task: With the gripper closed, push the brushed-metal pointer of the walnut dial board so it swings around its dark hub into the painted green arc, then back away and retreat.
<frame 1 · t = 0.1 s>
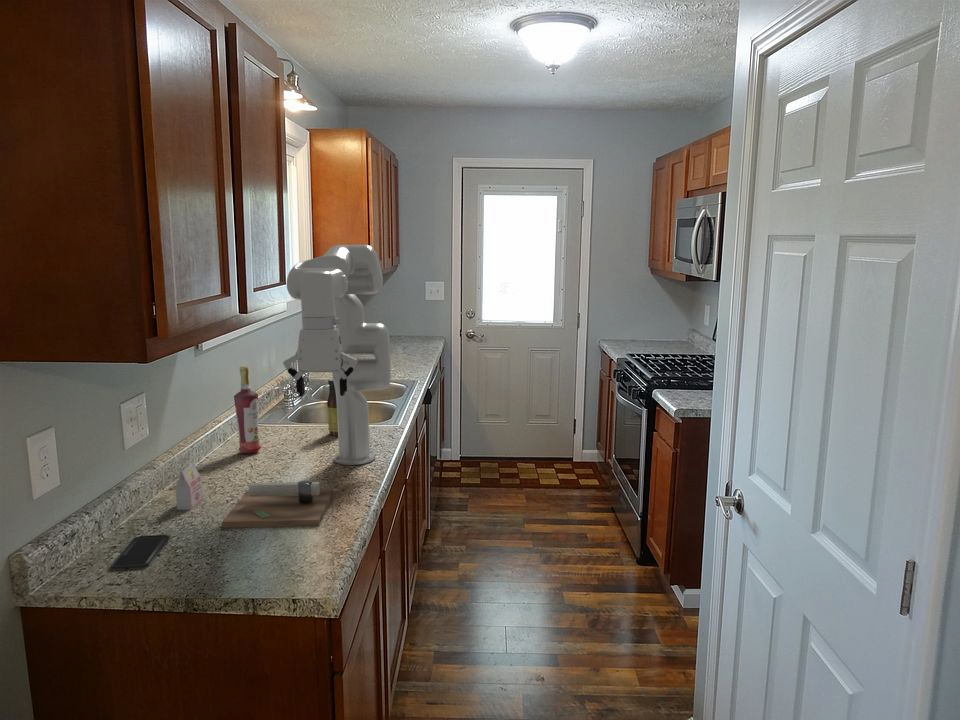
hand: (322, 394, 162), 31 cm above the counter, fingers open, 9 cm apart
pink white carton: (190, 505, 177), on the counter
phone: (141, 555, 150), on the counter
liquor: (250, 452, 220), on the counter
dial pointer: (284, 492, 174), point 4 cm above the counter, hinge at 0.0°
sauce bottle: (337, 434, 239), on the counter
dial board: (281, 509, 173), on the counter
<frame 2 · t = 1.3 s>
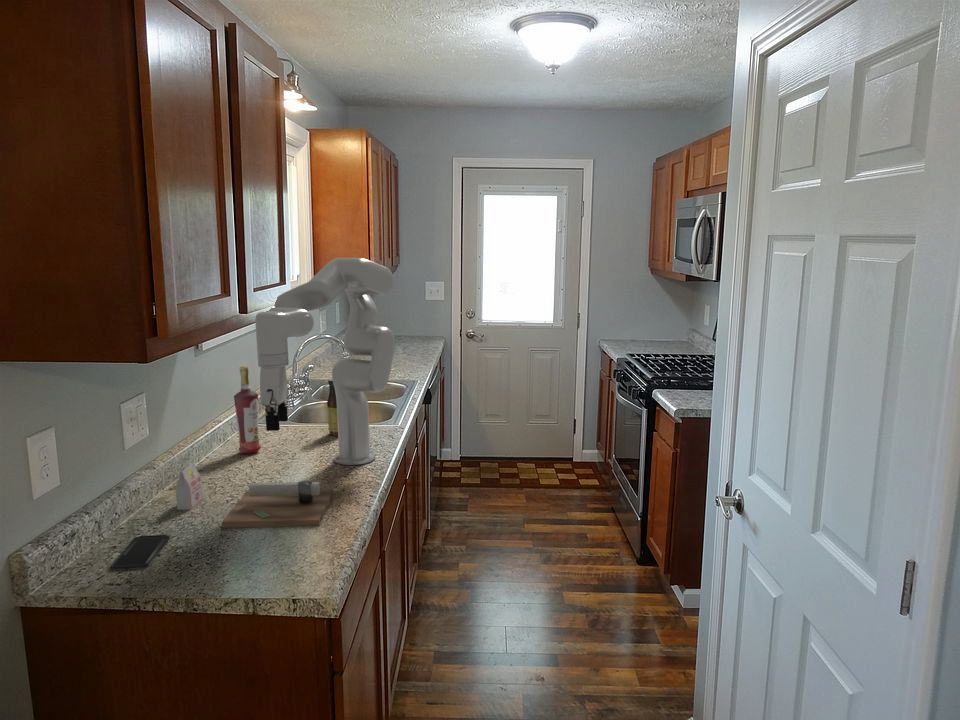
hand: (277, 425, 177), 20 cm above the counter, fingers open, 8 cm apart
nothing on the counter moved.
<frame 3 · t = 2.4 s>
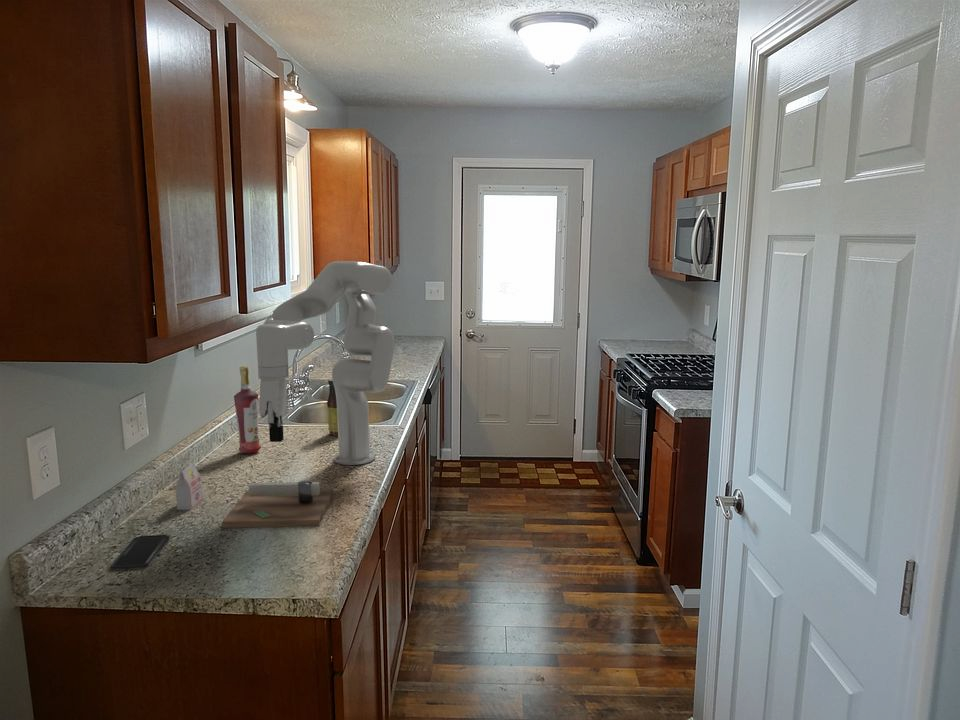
hand: (276, 440, 178), 16 cm above the counter, fingers closed
nothing on the counter moved.
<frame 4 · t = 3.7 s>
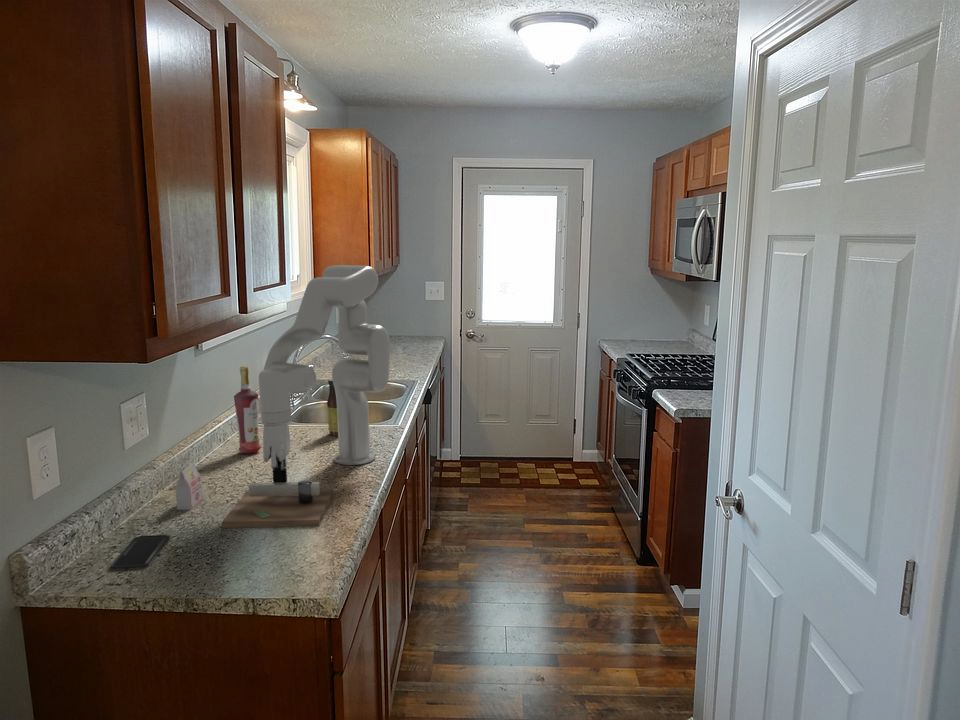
hand: (280, 483, 180), 4 cm above the counter, fingers closed
nothing on the counter moved.
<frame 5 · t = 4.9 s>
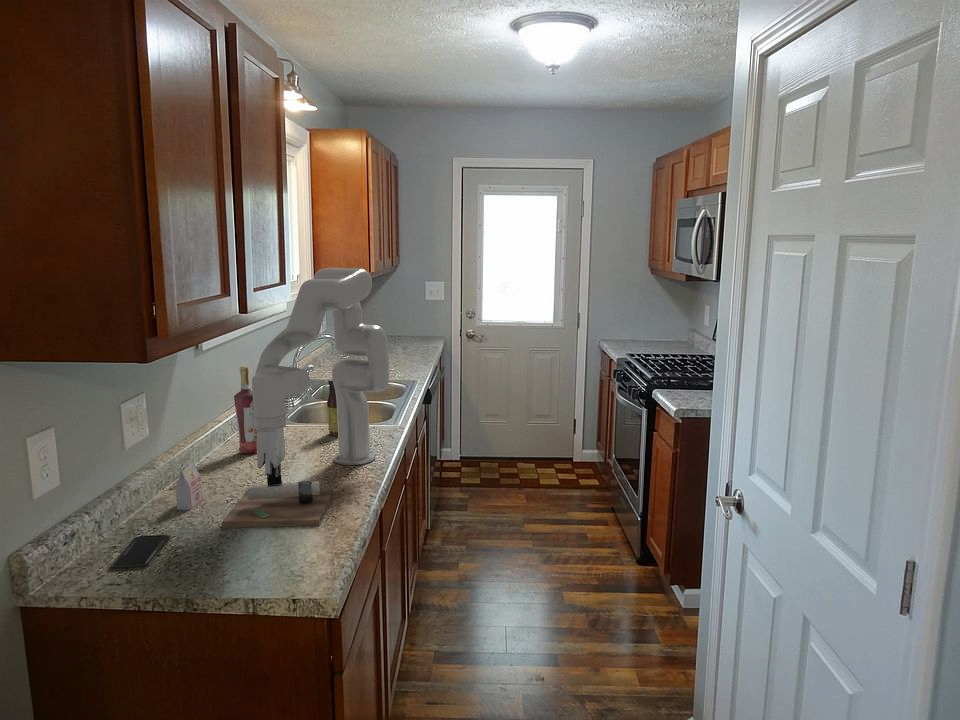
hand: (275, 490, 175), 4 cm above the counter, fingers closed
dial pointer: (284, 493, 173), point 4 cm above the counter, hinge at 9.0°, touching gripper
everything else where it was.
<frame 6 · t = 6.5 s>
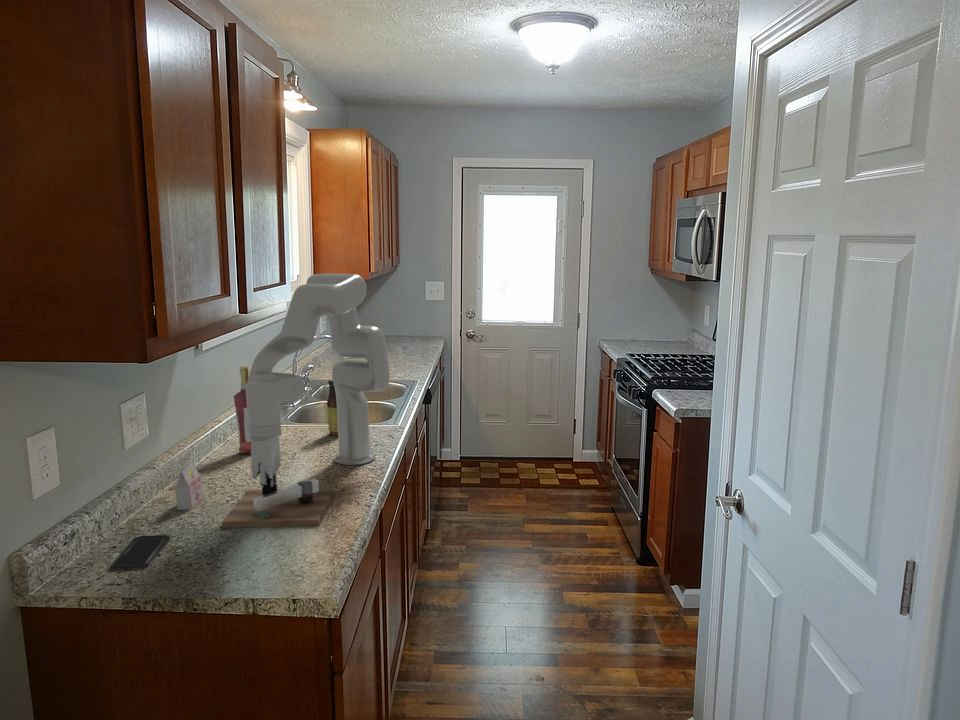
hand: (270, 500, 170), 4 cm above the counter, fingers closed
dial pointer: (287, 497, 170), point 4 cm above the counter, hinge at 46.0°, touching gripper
everything else where it was.
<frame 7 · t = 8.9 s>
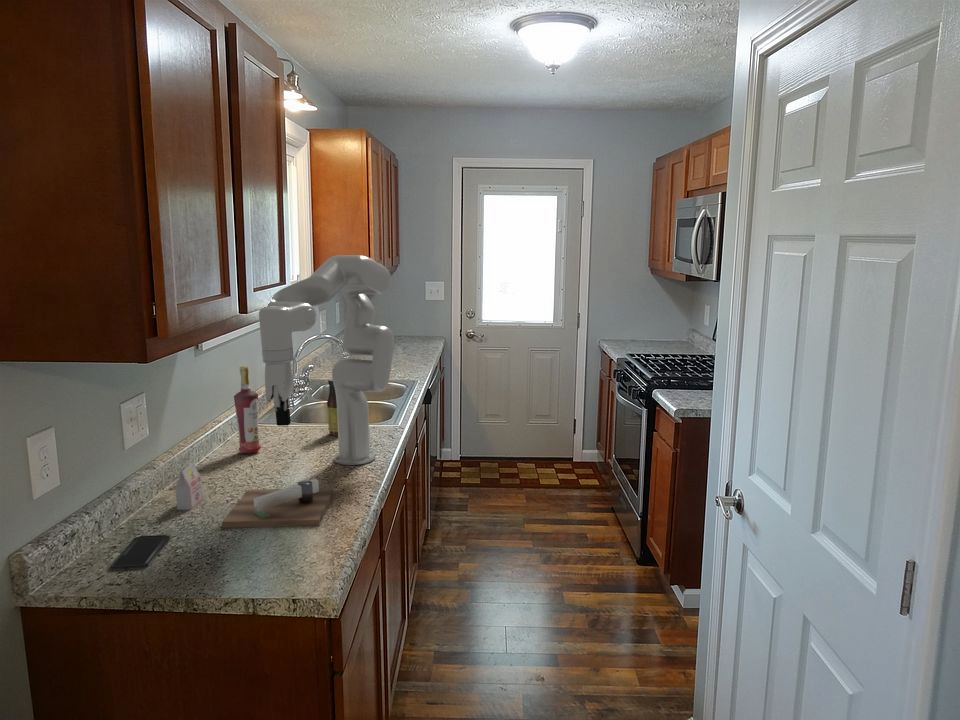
hand: (283, 424, 176), 21 cm above the counter, fingers closed
dial pointer: (287, 497, 170), point 4 cm above the counter, hinge at 46.3°
everything else where it was.
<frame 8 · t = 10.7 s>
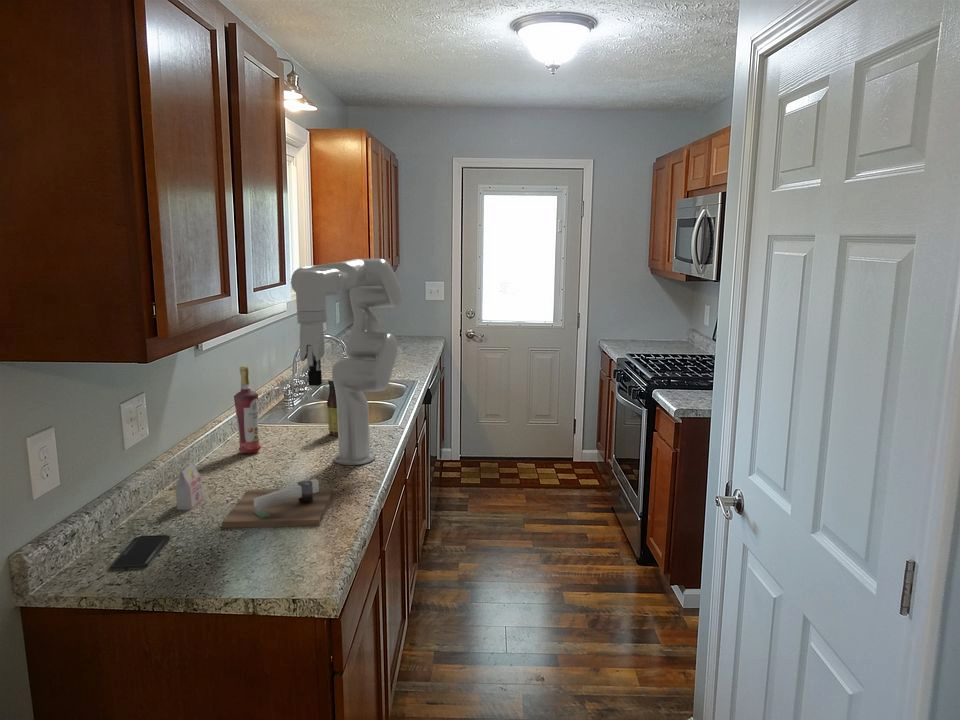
hand: (315, 384, 183), 29 cm above the counter, fingers closed
nothing on the counter moved.
at the end: dial pointer at +46° (first picture: +0°) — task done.
